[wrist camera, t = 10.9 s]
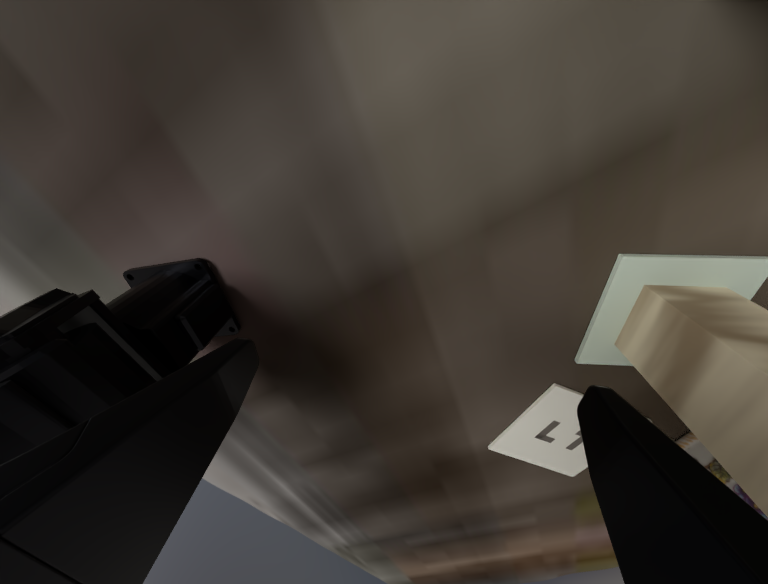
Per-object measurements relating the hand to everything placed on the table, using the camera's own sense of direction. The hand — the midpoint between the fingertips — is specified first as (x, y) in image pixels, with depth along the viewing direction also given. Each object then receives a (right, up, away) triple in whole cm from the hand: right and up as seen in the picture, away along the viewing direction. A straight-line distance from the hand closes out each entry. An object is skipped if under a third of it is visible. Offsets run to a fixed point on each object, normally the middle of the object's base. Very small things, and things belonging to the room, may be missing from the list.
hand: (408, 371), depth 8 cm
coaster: (+19, +1, +13) cm, 23 cm away
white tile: (+16, -11, +20) cm, 28 cm away
